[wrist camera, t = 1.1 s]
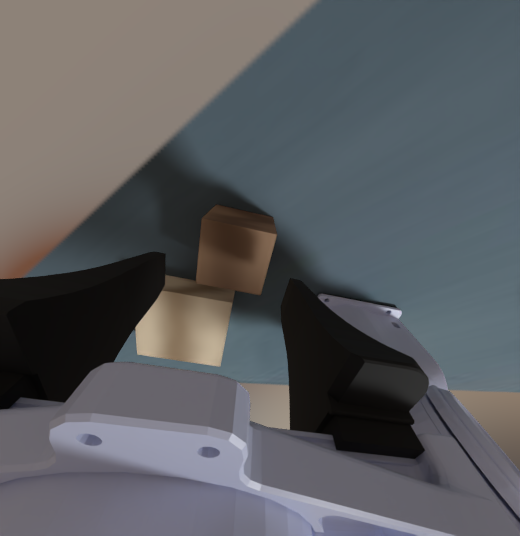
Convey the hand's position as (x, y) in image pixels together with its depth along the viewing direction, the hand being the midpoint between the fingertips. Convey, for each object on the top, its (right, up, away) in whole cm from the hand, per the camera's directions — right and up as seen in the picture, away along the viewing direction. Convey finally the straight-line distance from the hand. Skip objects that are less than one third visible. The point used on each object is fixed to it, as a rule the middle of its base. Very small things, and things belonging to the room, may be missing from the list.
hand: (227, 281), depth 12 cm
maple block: (-6, -4, +11) cm, 14 cm away
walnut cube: (0, +4, +7) cm, 8 cm away
